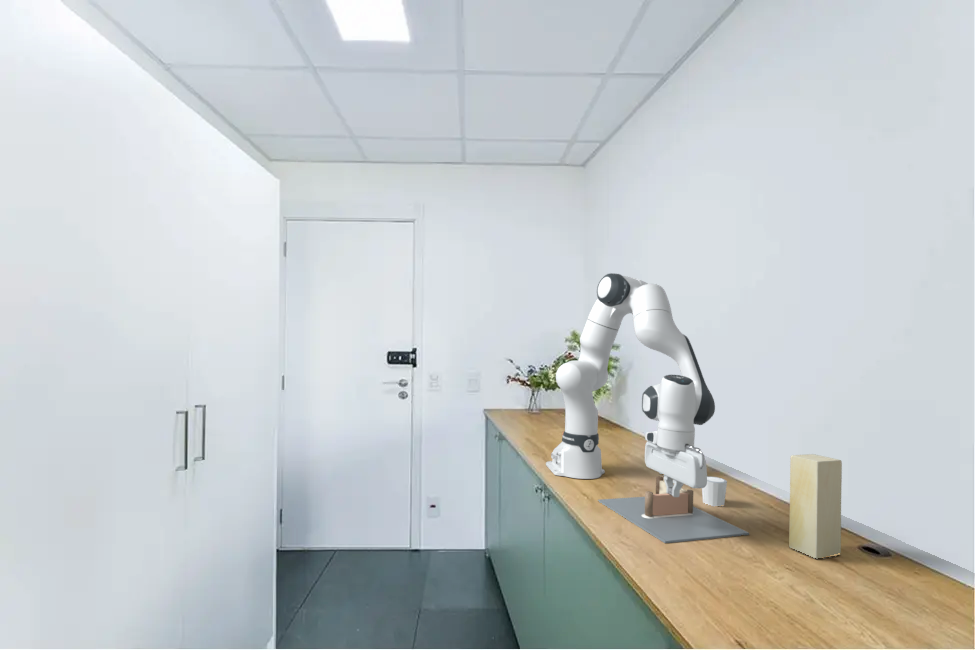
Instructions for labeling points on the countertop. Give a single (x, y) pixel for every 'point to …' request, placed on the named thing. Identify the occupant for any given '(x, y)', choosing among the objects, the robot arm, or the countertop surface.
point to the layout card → (673, 522)
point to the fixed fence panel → (663, 486)
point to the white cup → (714, 491)
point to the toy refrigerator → (815, 505)
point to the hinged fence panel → (668, 503)
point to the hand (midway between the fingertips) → (672, 495)
